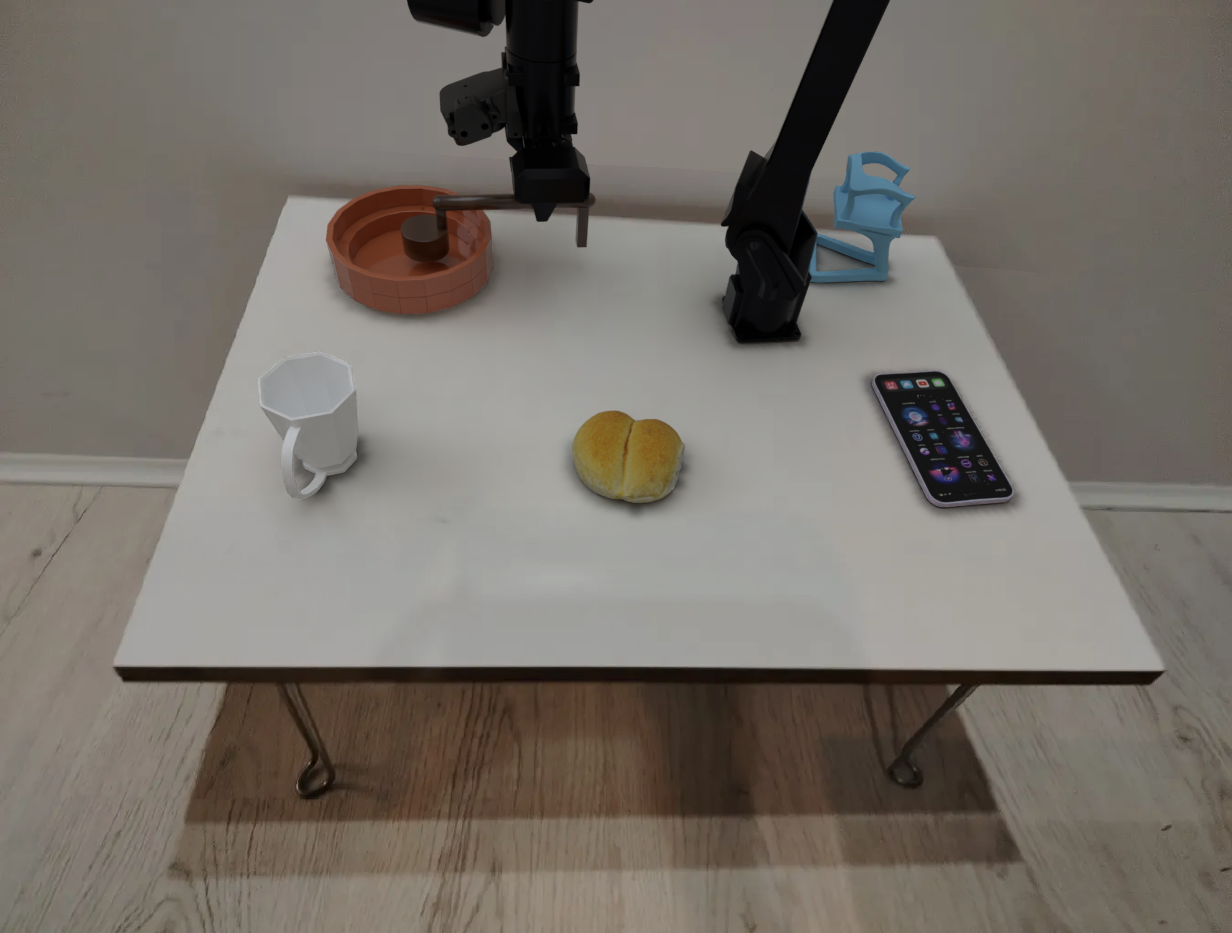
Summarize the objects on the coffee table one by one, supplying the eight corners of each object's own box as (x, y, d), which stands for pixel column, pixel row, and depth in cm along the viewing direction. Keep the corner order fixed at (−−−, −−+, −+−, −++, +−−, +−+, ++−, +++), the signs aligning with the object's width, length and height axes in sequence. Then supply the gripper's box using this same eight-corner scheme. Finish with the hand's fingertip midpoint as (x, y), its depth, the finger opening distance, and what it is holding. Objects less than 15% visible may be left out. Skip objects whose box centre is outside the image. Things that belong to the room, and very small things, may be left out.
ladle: (589, 230, 80) (593, 180, 76) (595, 257, 77) (599, 206, 73) (403, 235, 77) (395, 183, 72) (403, 263, 74) (395, 211, 70)
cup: (385, 426, 64) (368, 354, 58) (351, 526, 58) (329, 458, 52) (299, 418, 64) (274, 345, 58) (256, 517, 58) (222, 447, 51)
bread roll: (585, 417, 67) (588, 384, 63) (687, 442, 66) (695, 410, 63) (557, 491, 61) (558, 459, 58) (667, 519, 61) (674, 488, 57)
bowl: (488, 222, 83) (486, 183, 80) (497, 315, 74) (496, 277, 70) (340, 225, 81) (331, 186, 77) (331, 322, 71) (320, 283, 68)
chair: (887, 295, 81) (933, 191, 71) (808, 282, 81) (843, 176, 72) (883, 251, 86) (925, 148, 76) (808, 239, 86) (841, 135, 77)
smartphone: (945, 369, 73) (1019, 497, 64) (942, 373, 73) (1015, 501, 64) (869, 373, 72) (934, 504, 63) (867, 378, 72) (931, 509, 63)
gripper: (437, -2, 67) (452, 164, 80) (443, 104, 56) (459, 279, 68) (565, 0, 69) (561, 163, 81) (596, 103, 58) (585, 275, 70)
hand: (540, 215), depth 75 cm, fingers closed on ladle
